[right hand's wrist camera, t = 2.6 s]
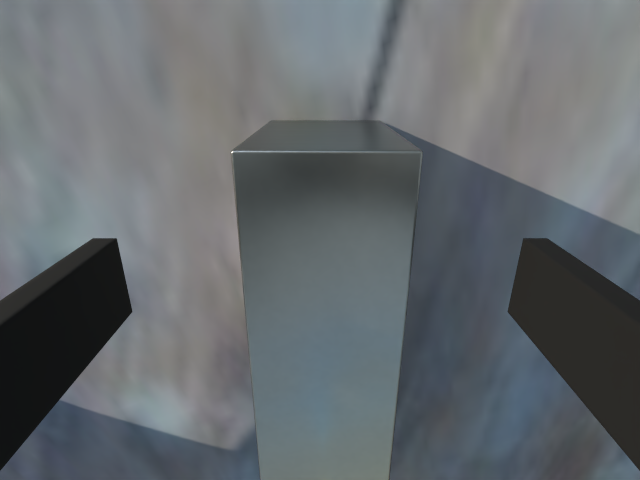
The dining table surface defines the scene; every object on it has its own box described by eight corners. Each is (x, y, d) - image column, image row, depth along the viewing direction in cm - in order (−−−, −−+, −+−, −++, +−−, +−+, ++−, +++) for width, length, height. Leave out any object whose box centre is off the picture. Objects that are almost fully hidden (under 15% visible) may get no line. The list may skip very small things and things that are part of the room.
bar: (269, 120, 19) (229, 150, 11) (381, 120, 19) (423, 150, 11) (286, 470, 29) (272, 622, 21) (360, 471, 29) (374, 623, 21)
